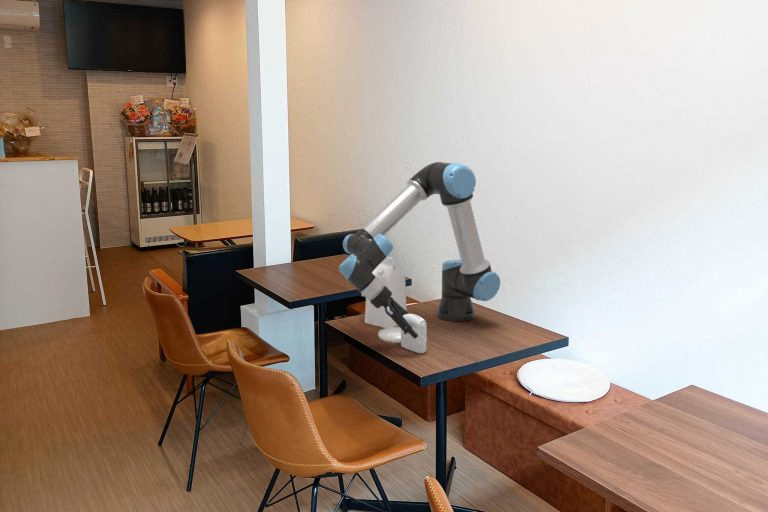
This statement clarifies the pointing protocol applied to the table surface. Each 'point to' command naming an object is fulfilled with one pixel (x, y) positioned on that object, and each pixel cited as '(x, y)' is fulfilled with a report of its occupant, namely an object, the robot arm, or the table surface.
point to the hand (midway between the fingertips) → (422, 338)
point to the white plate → (390, 334)
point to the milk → (396, 284)
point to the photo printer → (420, 327)
